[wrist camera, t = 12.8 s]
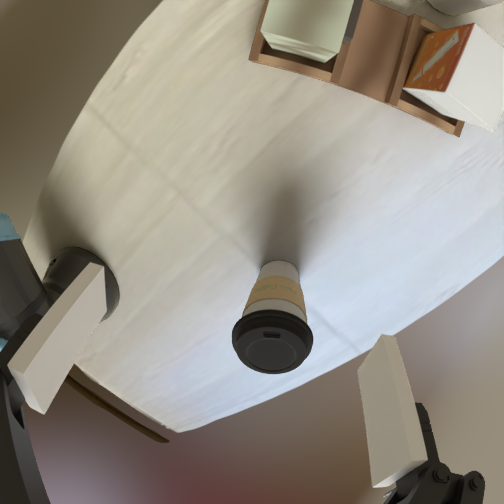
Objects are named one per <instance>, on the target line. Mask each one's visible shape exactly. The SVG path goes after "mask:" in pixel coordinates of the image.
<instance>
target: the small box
mask: <svg viewBox="0 0 504 504" xmlns="http://www.w3.org/2000/svg"><path fill="white" fill-rule="evenodd" d="M403 90H405V91H406V92H408V93H410V94H411V95H413V96H414V97H416V98H417V99H419V100H420V101H422V102H423V103H425V104H426V105H428V106H429V107H431V108H432V109H434V110H435V111H437V112H438V113H440V114H442V115H446V116H449V117H452V118H455V119H458V120H461V121H465V122H467V123H470V124H473V125H476V126H479V127H482V128H484V129H487V130H489V131H491V132H494V131H495V129H496V127H497V125H498V123H499V121H500V119H501V117H502V115H503V113H504V47H503V46H502V45H500V44H499V43H498V42H497V41H496V40H495V39H494V38H492V37H491V36H490V35H489V34H488V33H487V32H486V31H484V30H483V29H482V28H481V27H479V26H478V25H477V24H476V23H472V24H467V25H463V26H459V27H454V28H450V29H446V30H442V31H439V32H435V33H431V34H428V35H424V36H423V37H422V40H421V42H420V45H419V47H418V49H417V52H416V54H415V56H414V58H413V61H412V63H411V65H410V67H409V69H408V72H407V75H406V79H405V82H404V85H403Z"/></svg>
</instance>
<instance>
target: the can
mask: <svg viewBox="0 0 504 504" xmlns="http://www.w3.org/2000/svg"><path fill="white" fill-rule="evenodd" d="M427 1H428V2H429V3H430V4H431V5H432V6H433V7H434V8H435V9H437V10H439V11H440V12H442V13H445V14H448V15H456V16H458V15H461V14H464V13H467V12H471V11H474V10H477V9H481V8H485V7H488V6H492V5H496V4H499V3H502V2H503V0H427Z"/></svg>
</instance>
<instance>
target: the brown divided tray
mask: <svg viewBox="0 0 504 504" xmlns="http://www.w3.org/2000/svg"><path fill="white" fill-rule="evenodd" d="M442 30H445V29H443V28H441V27H439V26H437V25H435V24H433V23H432V22H430V21H428V20H426V19H424V18H422V17H420V16H418V15H416V14H413V15H411V16H409V17H408V16H406V15H404V14H401V13H399V12H397V11H395V10H392V9H390V8H388V7H385V6H383V5H380V4H378V3H375V2H373V1H370V0H265V3H264V6H263V9H262V13H261V16H260V20H259V23H258V27H257V30H256V34H255V38H254V41H253V45H252V48H251V52H250V56H249V60H250V61H252V62H255V63H260V64H264V65H268V66H272V67H276V68H280V69H284V70H288V71H292V72H295V73H299V74H302V75H306V76H309V77H312V78H316V79H319V80H322V81H325V82H328V83H331V84H334V85H337V86H340V87H343V88H346V89H349V90H352V91H355V92H357V93H360V94H363V95H365V96H368V97H370V98H373V99H376V100H378V101H381V102H383V103H385V104H388V105H390V106H393V107H395V108H397V109H400V110H402V111H404V112H406V113H409V114H411V115H413V116H415V117H417V118H419V119H421V120H424V121H426V122H428V123H430V124H432V125H434V126H436V127H438V128H440V129H442V130H444V131H446V132H447V133H450V134H452V135H455V136H457V137H460V134H461V131H462V129H463V126H464V123H465V121H461V120H458V119H455V118H452V117H449V116H446V115H442V114H440V113H438V112H437V111H435V110H434V109H432V108H431V107H429V106H428V105H426V104H425V103H423V102H422V101H420V100H419V99H417V98H416V97H414V96H413V95H411V94H410V93H408V92H406V91H405V90H403V85H404V82H405V79H406V75H407V72H408V69H409V67H410V65H411V63H412V61H413V58H414V56H415V54H416V52H417V49H418V47H419V45H420V42H421V40H422V37H423V36H424V35H428V34H431V33H435V32H439V31H442Z"/></svg>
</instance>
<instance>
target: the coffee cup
mask: <svg viewBox="0 0 504 504" xmlns="http://www.w3.org/2000/svg"><path fill="white" fill-rule="evenodd" d="M232 344H233V347H234V350H235V351H236V353H237V355H238V357H239V359H240V360H241V361H242V362H243V363H244V364H245V365H246V366H247V367H249V368H251V369H253V370H255V371H258V372H261V373H266V374H281V373H286V372H289V371H292V370H294V369H296V368H297V367H298V366H300V365H301V364H302V362H303V361H304V360H305V359H306V358H307V356H308V355H309V354H310V352H311V349H312V345H313V334H312V331H311V329H310V327H309V326H308V325H307V316H306V309H305V303H304V297H303V292H302V289H301V285H300V280H299V274H298V271H297V269H296V268H295V266H294V265H292V264H291V263H289V262H286V261H280V260H278V261H271V262H269V263H267V264H265V265H264V266H263V267H262V269H261V271H260V273H259V276H258V279H257V281H256V283H255V285H254V286H253V288H252V291H251V293H250V296H249V298H248V301H247V304H246V306H245V309H244V311H243V315H242V318H241V319H240V320H239V321H238V322H237V323H236V324H235V326H234V328H233V331H232Z"/></svg>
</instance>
